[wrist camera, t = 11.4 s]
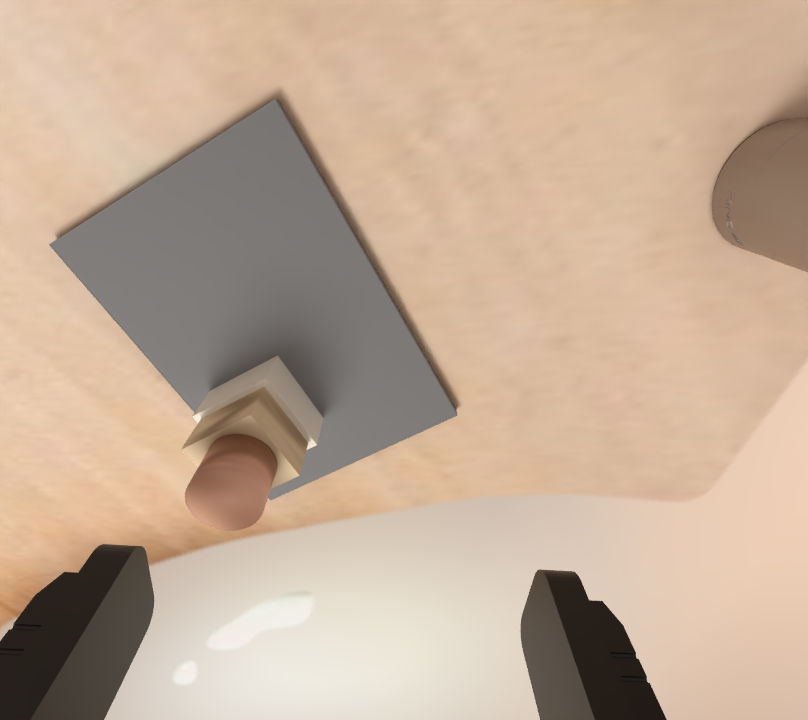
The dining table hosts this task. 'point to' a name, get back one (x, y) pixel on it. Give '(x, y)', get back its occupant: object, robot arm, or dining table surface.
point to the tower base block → (281, 390)
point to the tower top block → (252, 432)
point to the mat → (260, 290)
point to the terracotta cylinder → (232, 483)
